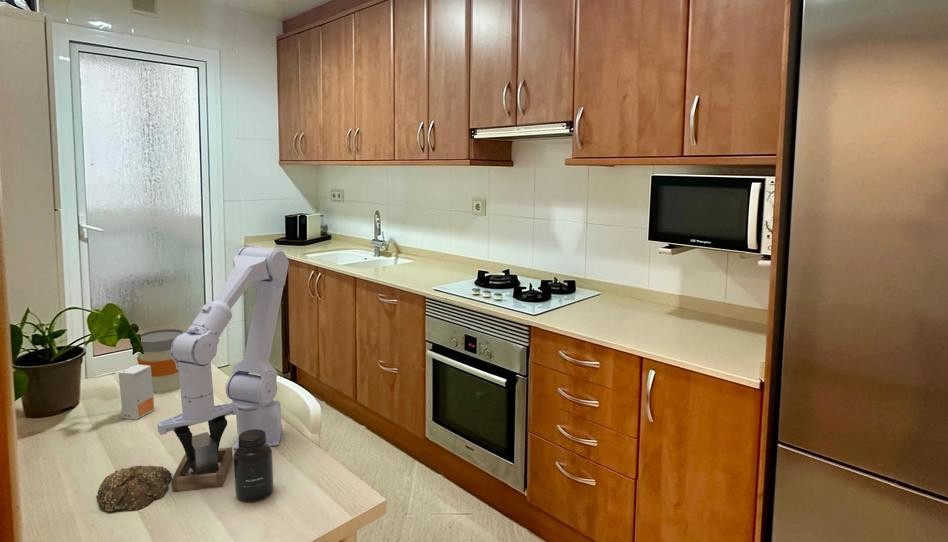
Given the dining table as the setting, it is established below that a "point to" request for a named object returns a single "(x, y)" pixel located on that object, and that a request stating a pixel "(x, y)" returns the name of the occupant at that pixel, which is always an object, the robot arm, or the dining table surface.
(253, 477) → the supplement bottle
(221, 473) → the wooden frame
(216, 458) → the steel bracket block
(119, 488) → the bread roll
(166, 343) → the reusable coffee cup
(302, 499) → the dining table surface
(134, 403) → the skincare box
